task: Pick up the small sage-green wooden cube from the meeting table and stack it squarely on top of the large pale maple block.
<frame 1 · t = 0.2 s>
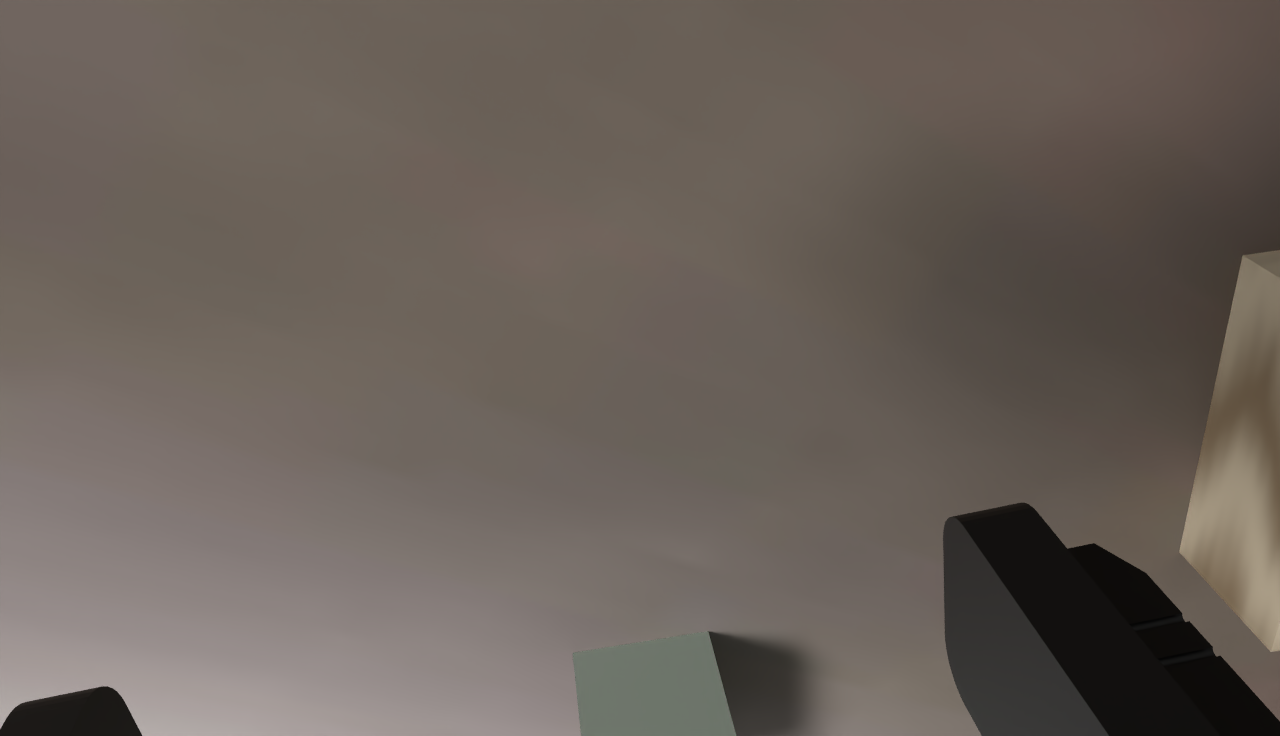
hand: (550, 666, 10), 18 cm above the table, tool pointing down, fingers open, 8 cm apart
sage cube: (645, 688, 35), on the table
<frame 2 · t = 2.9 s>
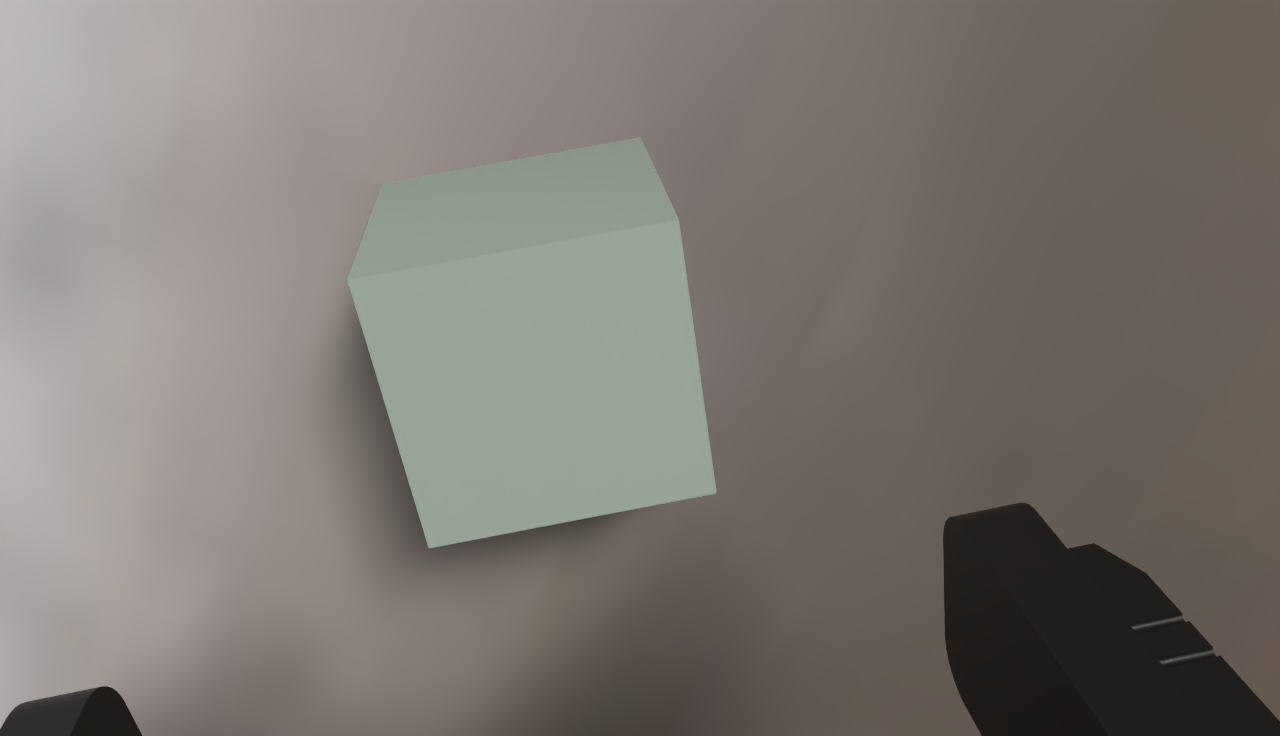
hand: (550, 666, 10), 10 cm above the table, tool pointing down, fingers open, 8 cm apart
sage cube: (537, 278, 19), on the table
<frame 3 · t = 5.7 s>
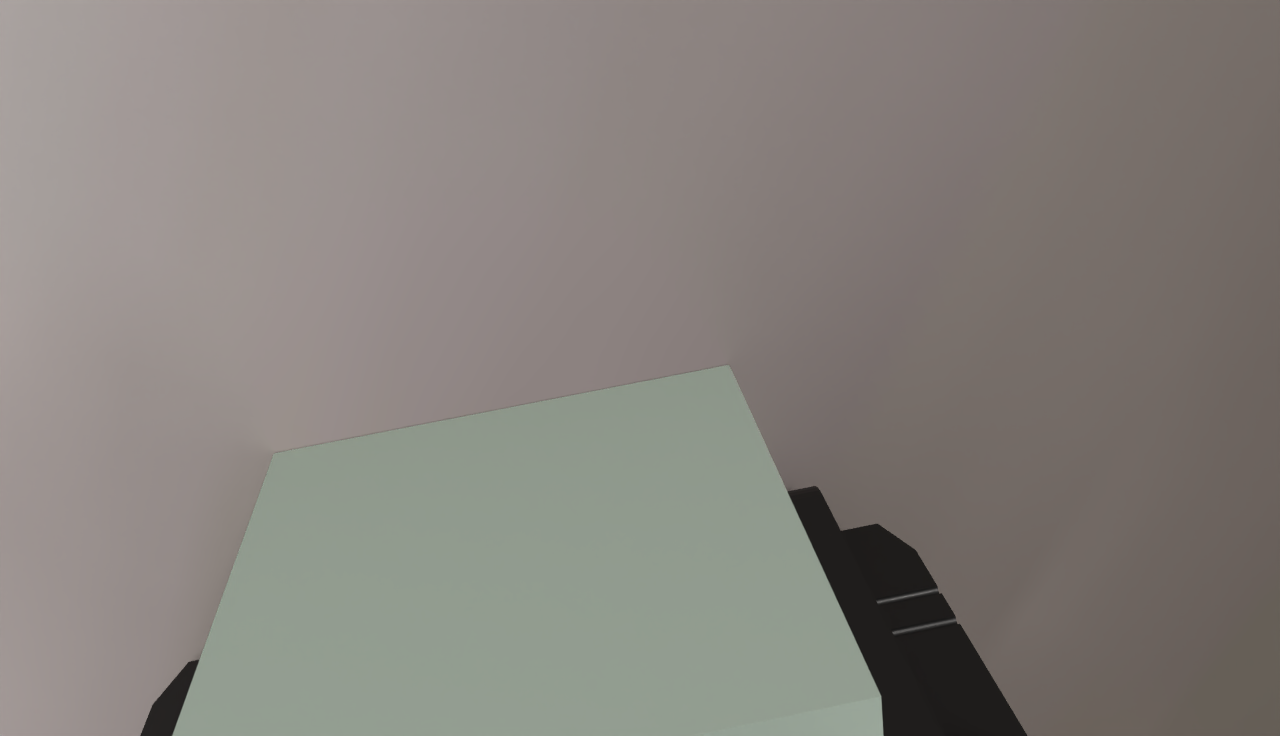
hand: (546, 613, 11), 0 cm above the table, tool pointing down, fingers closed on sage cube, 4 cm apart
sage cube: (547, 587, 11), on the table, touching gripper
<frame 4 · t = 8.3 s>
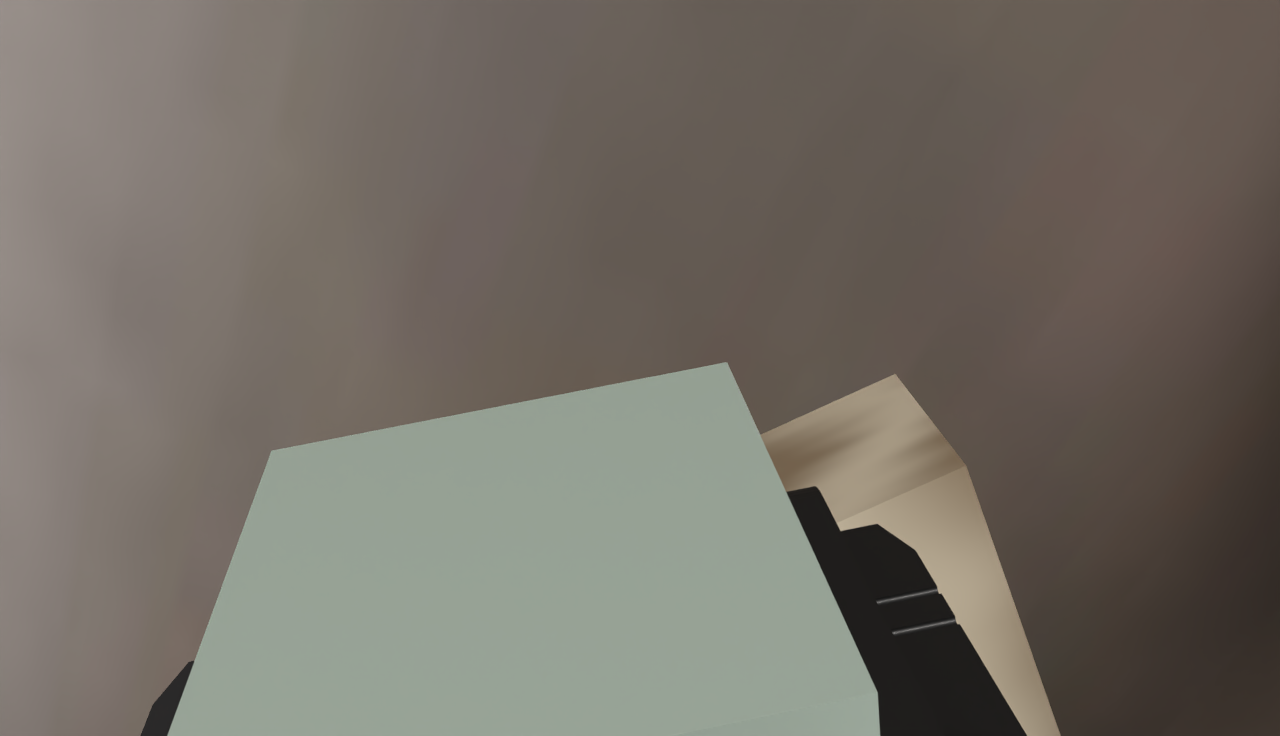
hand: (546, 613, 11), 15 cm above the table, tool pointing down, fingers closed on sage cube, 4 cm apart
sage cube: (545, 585, 11), point 15 cm above the table, touching gripper
maple block: (776, 589, 31), on the table
when the fingers open (7 cm above the table, at t = 10.9 s): sage cube drops 2 cm, resting on maple block.
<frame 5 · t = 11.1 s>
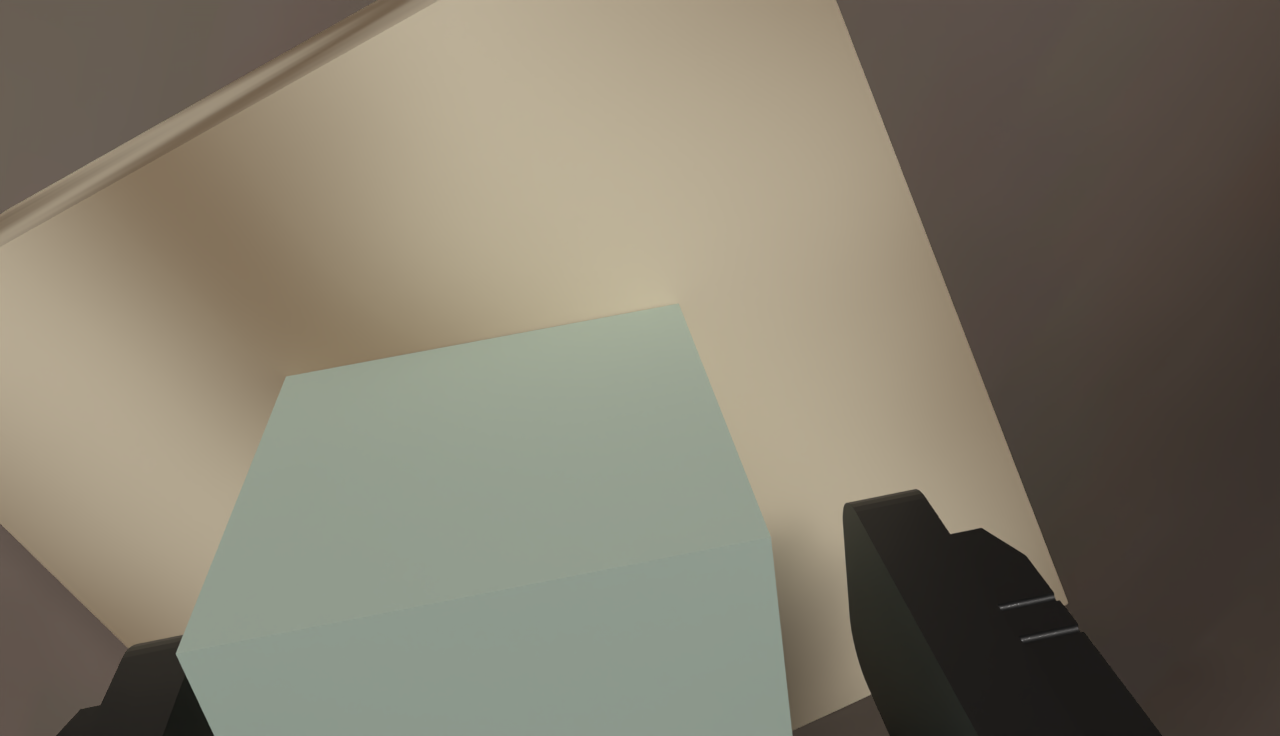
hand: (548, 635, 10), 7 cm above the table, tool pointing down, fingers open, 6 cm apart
sage cube: (523, 501, 13), point 5 cm above the table, touching maple block
maple block: (527, 328, 17), on the table, touching sage cube
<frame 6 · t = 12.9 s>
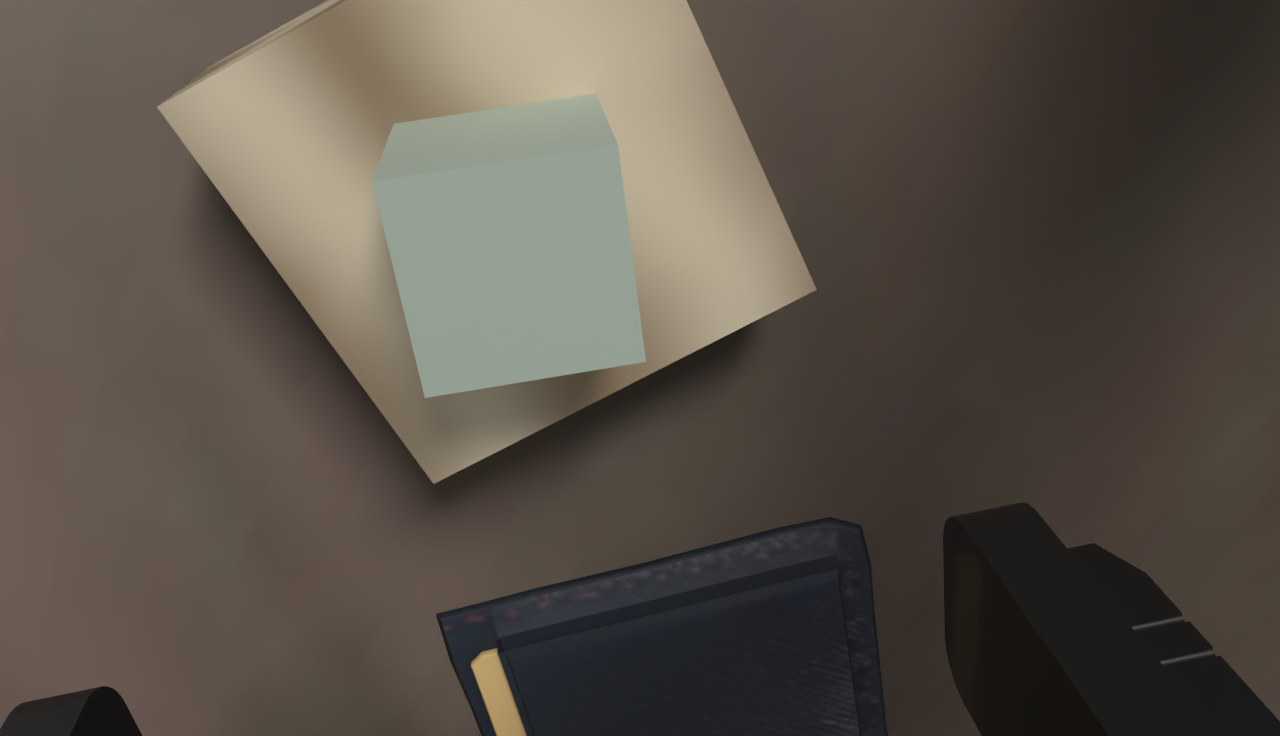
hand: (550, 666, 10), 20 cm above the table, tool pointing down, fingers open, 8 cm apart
sage cube: (513, 205, 24), point 5 cm above the table, touching maple block
maple block: (509, 150, 28), on the table, touching sage cube
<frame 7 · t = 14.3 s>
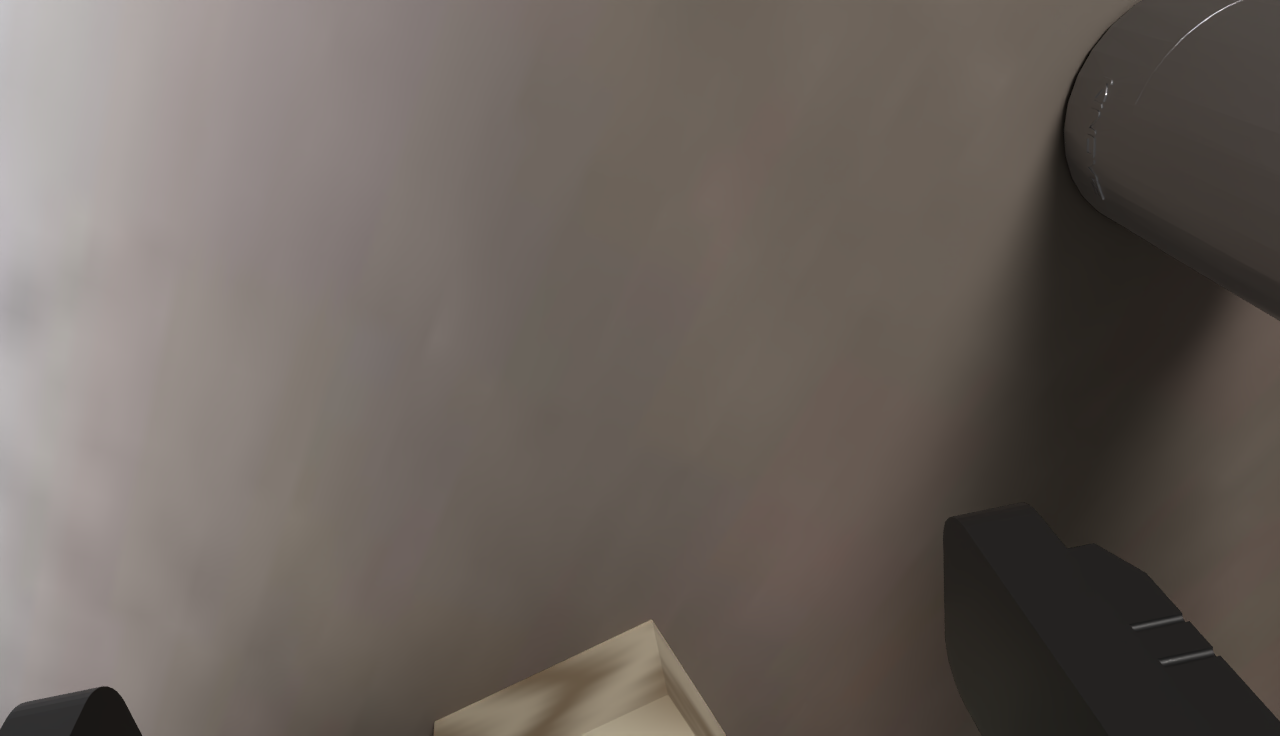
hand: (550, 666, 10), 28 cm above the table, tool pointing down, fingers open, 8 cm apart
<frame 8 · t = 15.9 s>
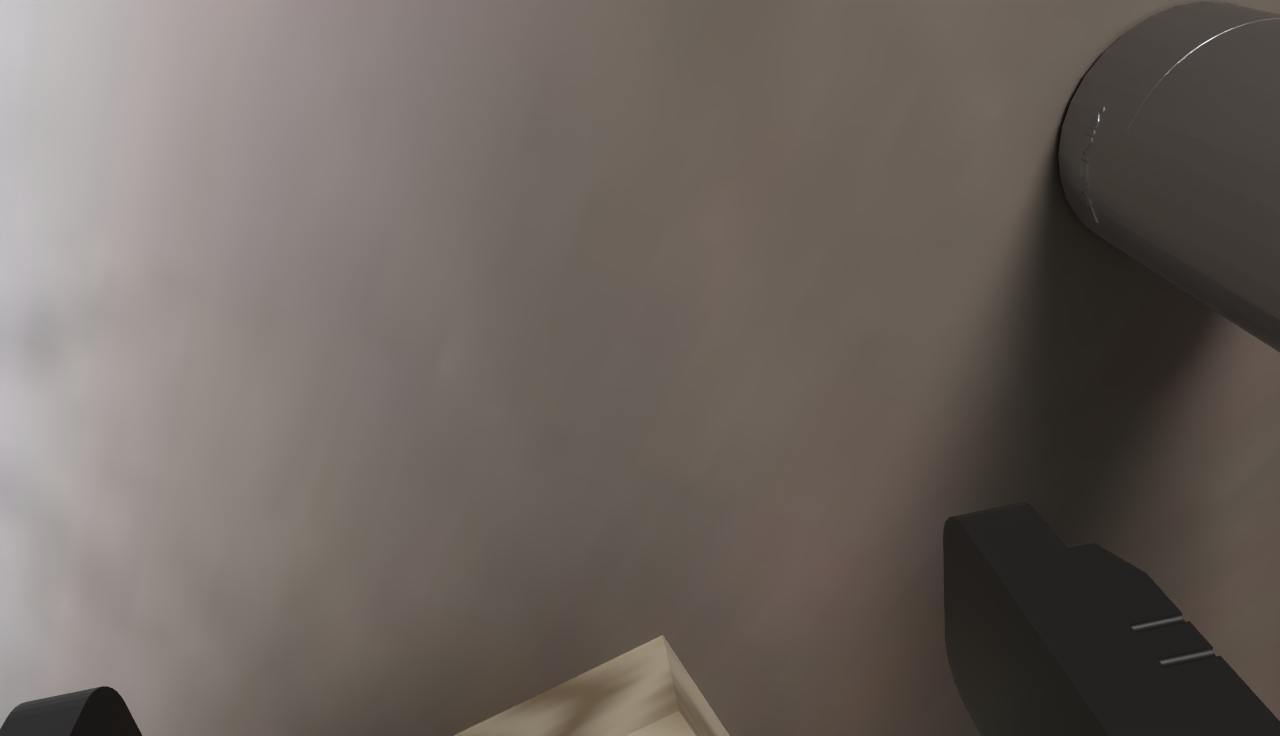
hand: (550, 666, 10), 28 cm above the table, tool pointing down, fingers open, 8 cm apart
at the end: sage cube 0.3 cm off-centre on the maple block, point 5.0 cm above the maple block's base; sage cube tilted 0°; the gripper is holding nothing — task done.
